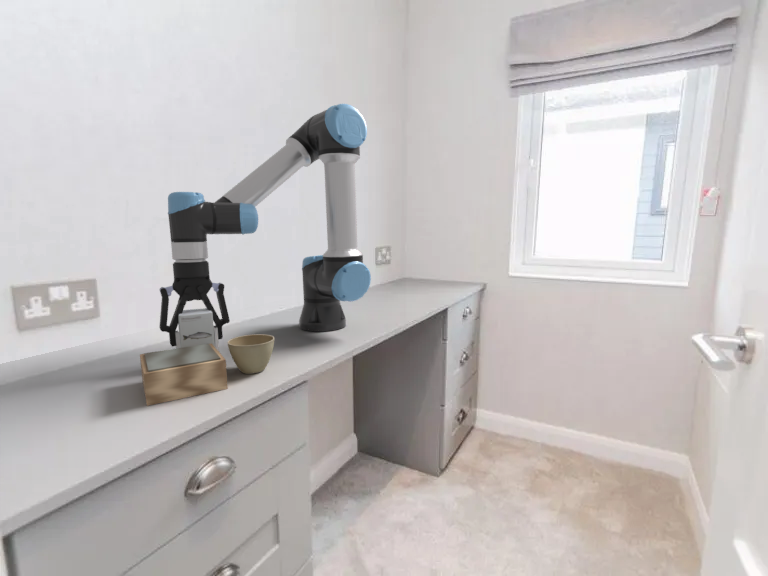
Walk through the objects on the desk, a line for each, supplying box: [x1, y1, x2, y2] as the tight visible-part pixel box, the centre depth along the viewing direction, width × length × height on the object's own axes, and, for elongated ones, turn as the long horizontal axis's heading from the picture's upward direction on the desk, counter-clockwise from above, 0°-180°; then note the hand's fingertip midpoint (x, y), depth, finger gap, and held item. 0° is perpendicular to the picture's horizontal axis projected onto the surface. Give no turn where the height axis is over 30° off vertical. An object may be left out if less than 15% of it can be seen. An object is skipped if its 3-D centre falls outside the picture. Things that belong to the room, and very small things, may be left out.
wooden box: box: [139, 344, 229, 407], centre depth 82 cm, size 14×14×6 cm
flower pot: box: [226, 333, 275, 375], centre depth 91 cm, size 10×10×7 cm
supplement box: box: [178, 307, 215, 348], centre depth 96 cm, size 7×7×13 cm
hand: (198, 355), depth 97 cm, fingers closed on supplement box, 8 cm apart
